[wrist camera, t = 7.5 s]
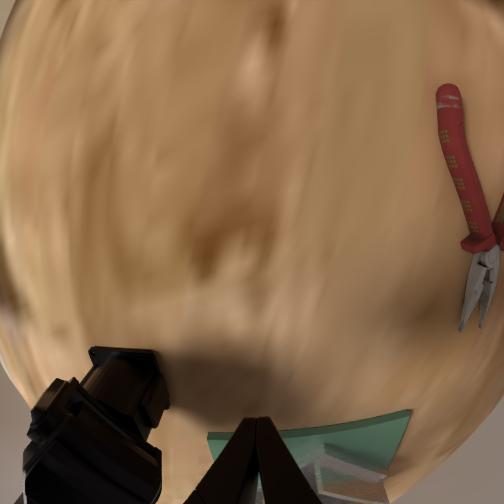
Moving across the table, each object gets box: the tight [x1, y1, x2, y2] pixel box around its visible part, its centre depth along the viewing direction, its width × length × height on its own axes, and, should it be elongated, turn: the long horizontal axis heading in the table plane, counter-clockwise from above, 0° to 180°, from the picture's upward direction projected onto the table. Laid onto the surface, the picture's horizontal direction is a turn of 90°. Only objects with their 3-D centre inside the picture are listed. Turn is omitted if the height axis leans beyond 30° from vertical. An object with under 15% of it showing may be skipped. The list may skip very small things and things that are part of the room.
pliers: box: [436, 84, 504, 332], centre depth 17 cm, size 12×20×3 cm, turn 2°
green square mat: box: [207, 410, 410, 478], centre depth 25 cm, size 20×20×1 cm
